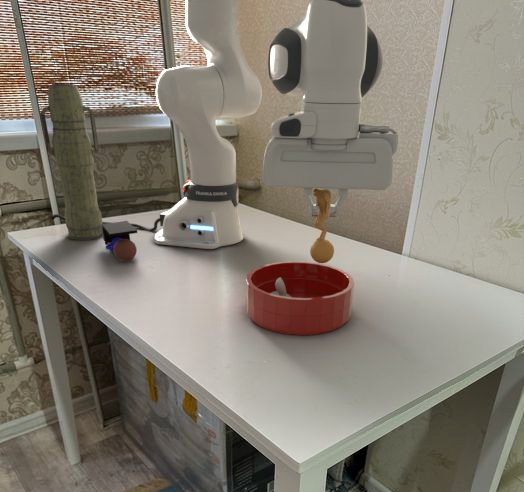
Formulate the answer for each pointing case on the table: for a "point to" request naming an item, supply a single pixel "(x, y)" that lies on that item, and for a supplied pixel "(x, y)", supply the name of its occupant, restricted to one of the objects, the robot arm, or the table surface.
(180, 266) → the table surface
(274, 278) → the bowl
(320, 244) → the figurine
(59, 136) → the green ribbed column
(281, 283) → the pacifier
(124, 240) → the figurine character
